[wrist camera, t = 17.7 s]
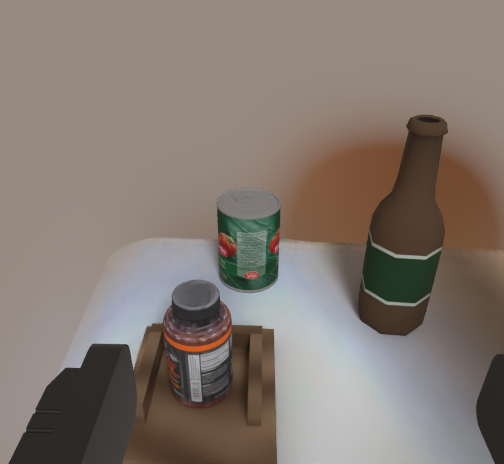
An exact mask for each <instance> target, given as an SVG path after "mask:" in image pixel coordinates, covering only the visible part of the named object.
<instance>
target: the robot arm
mask: <svg viewBox="0 0 504 464" xmlns="http://www.w3.org/2000/svg"><path fill="white" fill-rule="evenodd" d="M136 408H137V389H136V383H135V378H134V372H133V366H132V360H131V354H130V349H129V346H128V345H127V344H92V345H91V346H90V348H89V350H88V352H87V354H86V356H85V359H84V361H83V363H82V366H81V368H65V369H64V370H63V371H62V372H61V373H60V374H59V375H58V376H57V377H56V378H55V379H54V380H53V381H52V382H51V383H50V384H49V385H48V386H47V387H46V389H45V391H44V393H43V395H42V397H41V399H40V401H39V403H38V405H37V407H36V412H35V414H33V415H32V418H31V419H30V422H29V423H28V425H27V430H26V433H24V434H23V436H22V438H21V440H20V442H19V444H18V446H17V448H16V450H15V452H14V454H13V456H12V458H11V460H10V462H9V464H122V463H123V460H124V456H125V452H126V449H127V445H128V441H129V438H130V434H131V430H132V427H133V423H134V419H135V415H136ZM476 413H477V421H478V425H479V428H480V431H481V433H482V435H483V438H484V440H485V442H486V444H487V447H488V449H489V451H490V453H491V456H492V458H493V460H494V462H495V464H504V354H498V355H496V356H495V357H494V358H493V360H492V363H491V365H490V368H489V371H488V373H487V376H486V379H485V381H484V384H483V387H482V389H481V392H480V395H479V397H478V400H477V406H476Z"/></svg>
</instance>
